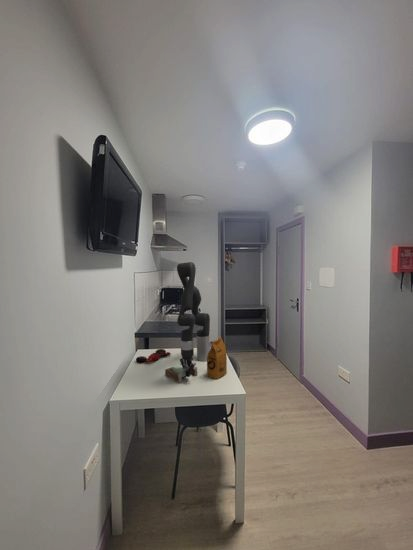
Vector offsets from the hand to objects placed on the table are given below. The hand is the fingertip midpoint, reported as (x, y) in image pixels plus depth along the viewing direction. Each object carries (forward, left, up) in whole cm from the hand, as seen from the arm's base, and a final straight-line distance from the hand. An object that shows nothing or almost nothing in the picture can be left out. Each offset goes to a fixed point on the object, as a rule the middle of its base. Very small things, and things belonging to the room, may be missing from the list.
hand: (187, 376), depth 139 cm
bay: (0, -7, -2) cm, 7 cm away
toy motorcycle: (-3, -42, -2) cm, 42 cm away
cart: (0, -7, -2) cm, 7 cm away
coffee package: (-16, +8, -2) cm, 18 cm away
